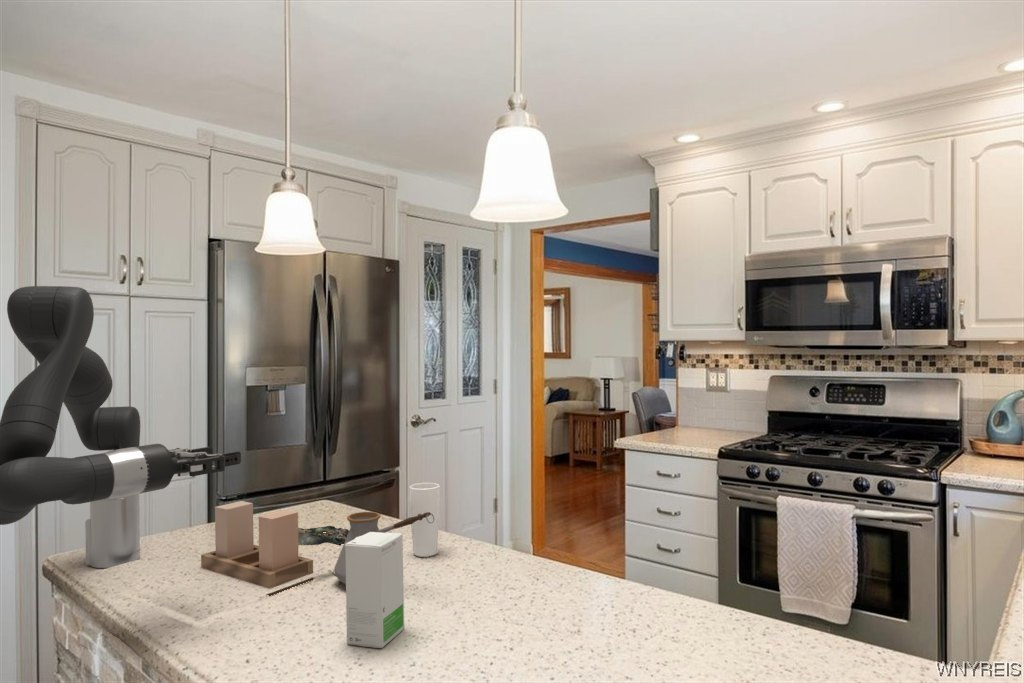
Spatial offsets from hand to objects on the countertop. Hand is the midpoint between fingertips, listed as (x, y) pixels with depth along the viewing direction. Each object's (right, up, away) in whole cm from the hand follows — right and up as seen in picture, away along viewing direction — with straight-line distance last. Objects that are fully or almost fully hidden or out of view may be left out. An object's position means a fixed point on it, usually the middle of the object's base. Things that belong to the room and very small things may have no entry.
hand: (225, 454), depth 121 cm
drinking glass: (+33, -26, +27) cm, 50 cm away
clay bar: (+7, -25, +9) cm, 27 cm away
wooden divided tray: (+1, -27, +13) cm, 30 cm away
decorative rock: (+6, -27, +37) cm, 46 cm away
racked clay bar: (-5, -25, +17) cm, 31 cm away
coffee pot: (+27, -27, +8) cm, 39 cm away
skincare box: (+30, -27, -14) cm, 42 cm away
